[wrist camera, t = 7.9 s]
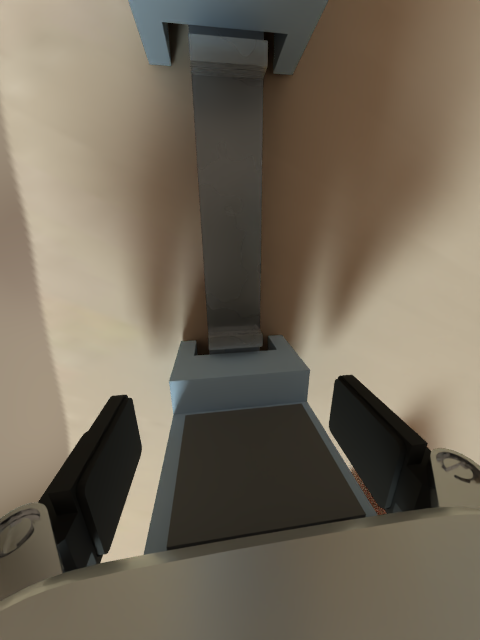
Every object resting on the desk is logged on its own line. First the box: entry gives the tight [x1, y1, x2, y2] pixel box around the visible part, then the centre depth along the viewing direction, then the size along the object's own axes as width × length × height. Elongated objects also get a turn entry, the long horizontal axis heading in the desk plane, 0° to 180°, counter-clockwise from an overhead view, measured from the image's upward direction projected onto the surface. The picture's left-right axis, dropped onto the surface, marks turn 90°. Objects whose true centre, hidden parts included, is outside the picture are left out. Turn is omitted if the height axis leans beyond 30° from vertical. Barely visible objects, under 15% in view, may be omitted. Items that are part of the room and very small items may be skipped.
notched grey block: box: [144, 335, 377, 555], centre depth 9 cm, size 6×4×9 cm
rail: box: [188, 25, 268, 355], centre depth 10 cm, size 23×2×3 cm, turn 1°
